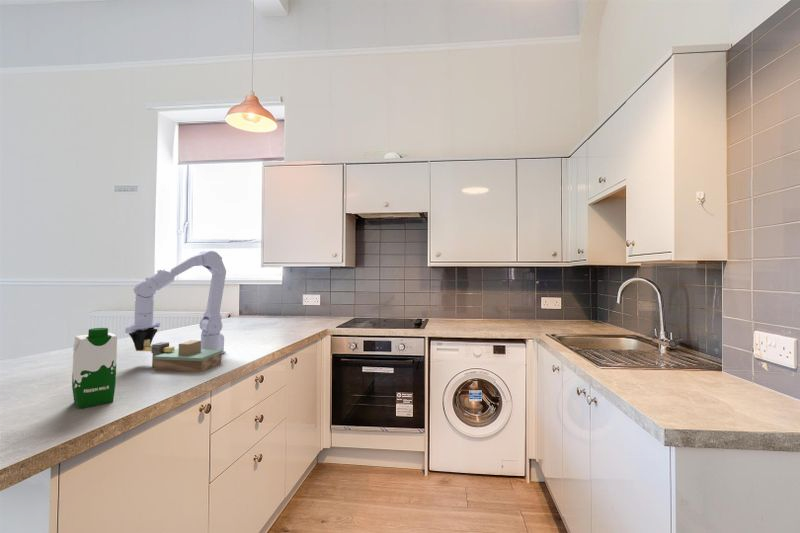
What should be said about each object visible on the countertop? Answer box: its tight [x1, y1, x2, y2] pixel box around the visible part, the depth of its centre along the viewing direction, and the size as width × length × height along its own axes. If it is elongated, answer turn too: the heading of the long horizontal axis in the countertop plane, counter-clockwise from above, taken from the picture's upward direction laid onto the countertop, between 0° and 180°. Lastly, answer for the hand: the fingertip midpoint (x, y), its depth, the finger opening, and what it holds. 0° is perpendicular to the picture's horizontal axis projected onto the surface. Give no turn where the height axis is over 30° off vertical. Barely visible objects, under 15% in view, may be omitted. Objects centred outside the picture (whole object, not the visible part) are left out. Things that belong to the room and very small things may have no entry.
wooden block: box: [135, 339, 176, 352], centre depth 134 cm, size 3×13×4 cm, turn 87°
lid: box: [154, 339, 223, 361], centre depth 133 cm, size 14×18×5 cm
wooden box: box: [151, 341, 222, 373], centre depth 133 cm, size 13×22×8 cm, turn 87°
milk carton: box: [71, 327, 118, 410], centre depth 97 cm, size 9×9×20 cm
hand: (142, 349), depth 134 cm, fingers closed on wooden block, 3 cm apart
